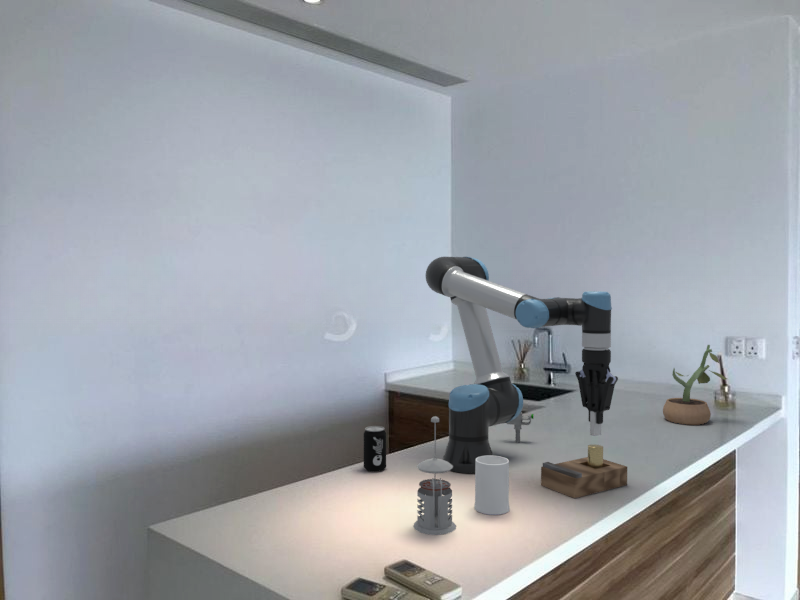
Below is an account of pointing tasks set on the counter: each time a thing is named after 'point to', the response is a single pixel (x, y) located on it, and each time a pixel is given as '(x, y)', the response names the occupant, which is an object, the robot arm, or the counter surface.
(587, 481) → the jig
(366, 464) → the beverage can
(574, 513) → the counter surface
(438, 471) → the french press
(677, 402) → the potted plant
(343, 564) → the counter surface
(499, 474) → the mug
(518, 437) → the mechanical component
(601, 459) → the brass cylinder
